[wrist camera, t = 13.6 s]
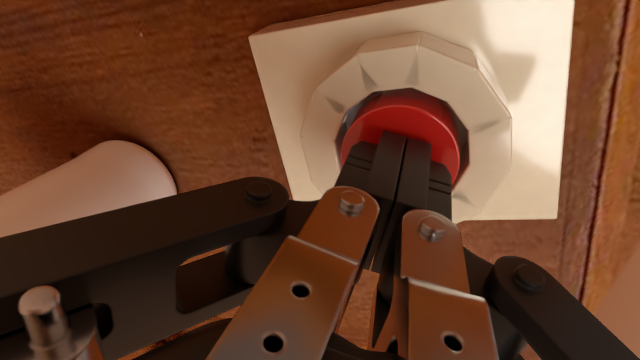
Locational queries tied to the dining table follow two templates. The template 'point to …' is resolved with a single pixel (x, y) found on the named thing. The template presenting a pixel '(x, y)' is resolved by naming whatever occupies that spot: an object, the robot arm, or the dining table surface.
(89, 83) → the dining table surface
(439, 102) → the button
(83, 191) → the drinking glass
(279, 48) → the button block
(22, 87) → the dining table surface
